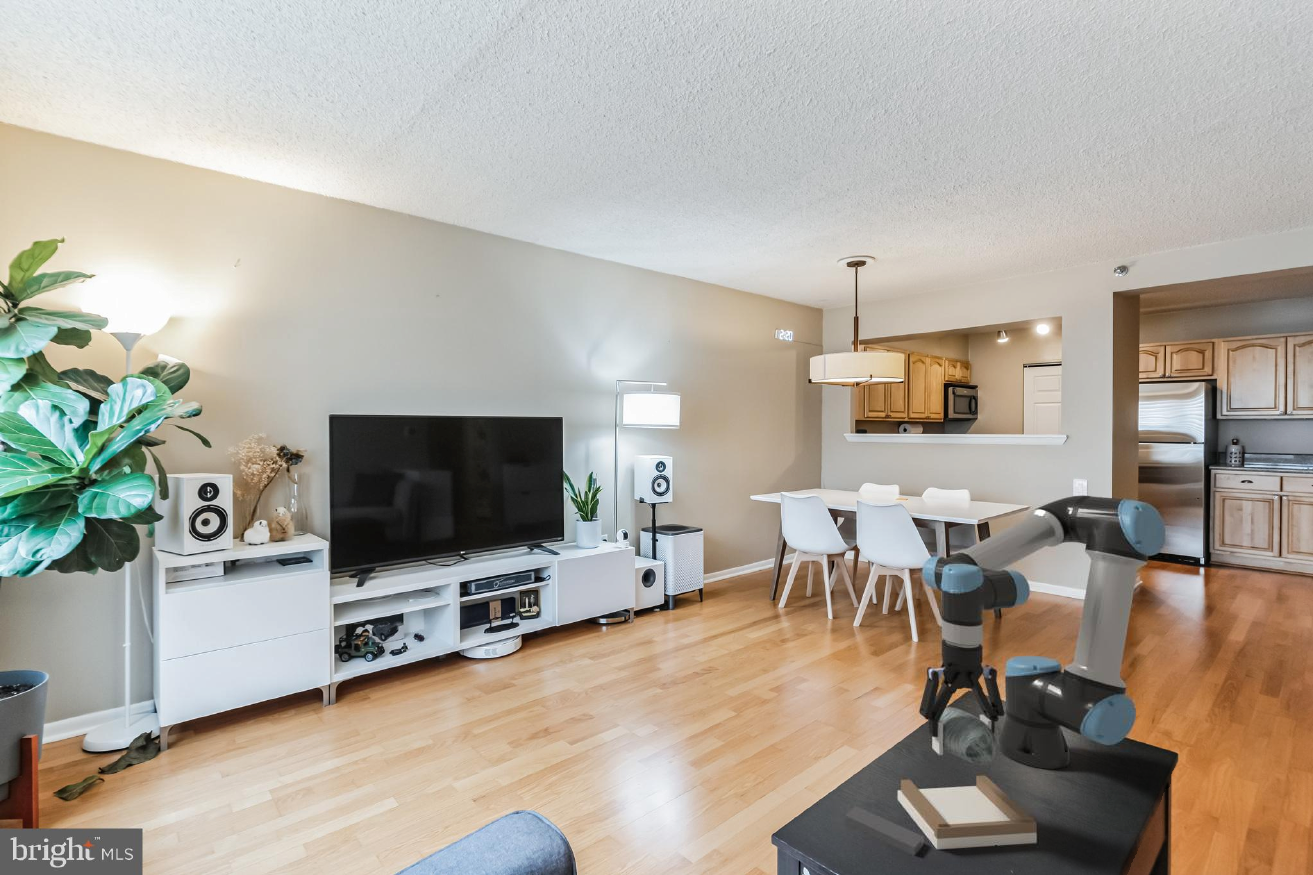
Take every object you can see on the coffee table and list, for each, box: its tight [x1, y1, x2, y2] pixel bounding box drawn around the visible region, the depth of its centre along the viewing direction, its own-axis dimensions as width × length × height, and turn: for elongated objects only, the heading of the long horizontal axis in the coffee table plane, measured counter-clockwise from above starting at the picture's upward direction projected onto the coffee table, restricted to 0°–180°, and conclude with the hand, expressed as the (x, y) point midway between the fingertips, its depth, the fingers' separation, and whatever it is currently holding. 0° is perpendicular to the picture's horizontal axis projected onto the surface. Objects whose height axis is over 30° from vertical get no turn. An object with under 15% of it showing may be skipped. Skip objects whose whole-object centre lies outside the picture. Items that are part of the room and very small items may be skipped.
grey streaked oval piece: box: [940, 706, 997, 766], centre depth 128 cm, size 14×10×10 cm
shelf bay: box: [897, 775, 1038, 850], centre depth 127 cm, size 20×16×4 cm
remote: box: [844, 806, 925, 856], centre depth 123 cm, size 4×14×2 cm, turn 46°
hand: (961, 750), depth 128 cm, fingers closed on grey streaked oval piece, 9 cm apart
